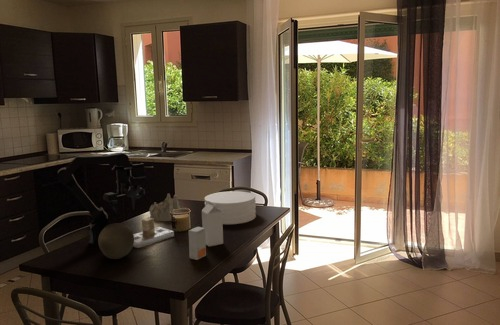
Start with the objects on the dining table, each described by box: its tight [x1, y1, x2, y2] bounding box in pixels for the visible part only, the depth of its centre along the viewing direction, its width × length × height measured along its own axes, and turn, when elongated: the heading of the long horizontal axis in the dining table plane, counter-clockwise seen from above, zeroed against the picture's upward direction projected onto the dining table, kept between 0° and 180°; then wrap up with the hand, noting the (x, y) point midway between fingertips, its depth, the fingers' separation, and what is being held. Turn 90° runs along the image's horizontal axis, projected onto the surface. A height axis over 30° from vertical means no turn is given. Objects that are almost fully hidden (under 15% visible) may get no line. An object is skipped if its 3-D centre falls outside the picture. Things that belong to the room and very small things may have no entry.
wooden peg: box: [141, 216, 156, 237], centre depth 185 cm, size 4×4×10 cm
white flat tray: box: [132, 226, 175, 249], centre depth 186 cm, size 20×12×3 cm, turn 138°
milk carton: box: [201, 201, 224, 247], centre depth 177 cm, size 7×7×19 cm
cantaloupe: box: [98, 222, 134, 260], centre depth 162 cm, size 14×14×15 cm
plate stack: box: [204, 190, 257, 225], centre depth 219 cm, size 28×28×12 cm
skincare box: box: [188, 226, 207, 261], centre depth 162 cm, size 6×4×12 cm
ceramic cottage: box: [148, 193, 181, 222], centre depth 222 cm, size 16×16×15 cm
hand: (125, 211), depth 188 cm, fingers open, 9 cm apart
